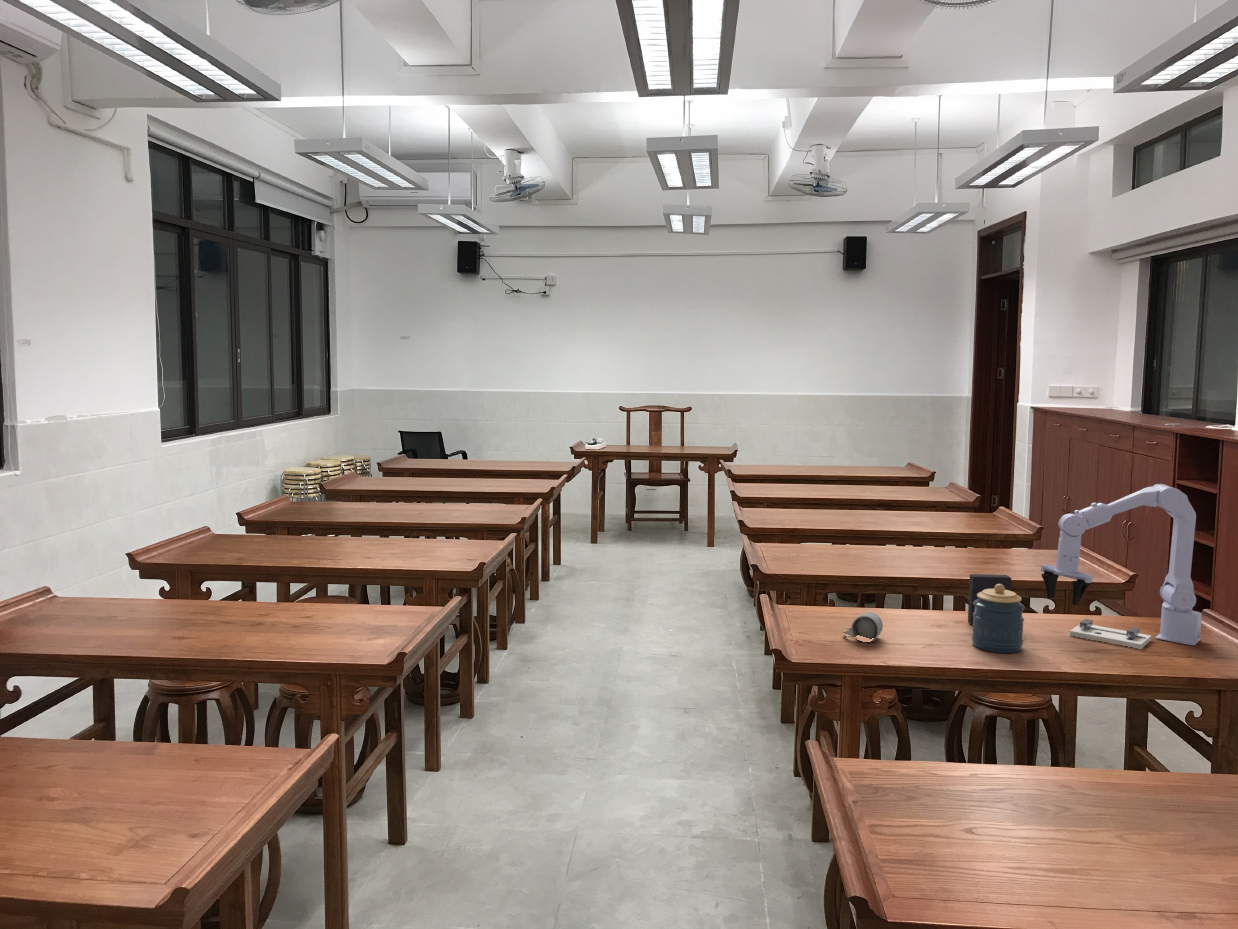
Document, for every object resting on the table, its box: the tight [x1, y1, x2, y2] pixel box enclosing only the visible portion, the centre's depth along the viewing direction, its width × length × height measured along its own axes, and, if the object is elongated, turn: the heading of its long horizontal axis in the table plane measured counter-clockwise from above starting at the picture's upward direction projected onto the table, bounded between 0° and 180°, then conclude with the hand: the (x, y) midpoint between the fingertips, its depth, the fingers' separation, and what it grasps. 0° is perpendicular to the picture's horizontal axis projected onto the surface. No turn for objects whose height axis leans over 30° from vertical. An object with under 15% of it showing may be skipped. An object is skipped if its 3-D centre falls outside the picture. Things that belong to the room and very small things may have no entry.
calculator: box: [967, 573, 1012, 626], centre depth 262 cm, size 11×4×15 cm, turn 84°
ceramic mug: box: [842, 612, 884, 642], centre depth 248 cm, size 11×8×8 cm
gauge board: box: [1069, 624, 1152, 650], centre depth 249 cm, size 18×11×2 cm, turn 46°
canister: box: [971, 584, 1026, 654], centre depth 240 cm, size 13×13×18 cm
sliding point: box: [1079, 618, 1094, 629], centre depth 253 cm, size 2×6×2 cm, turn 136°
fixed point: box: [1126, 626, 1140, 638], centre depth 245 cm, size 2×6×2 cm, turn 136°
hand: (1062, 601), depth 254 cm, fingers open, 7 cm apart
